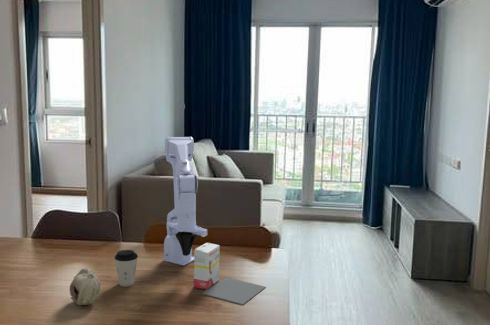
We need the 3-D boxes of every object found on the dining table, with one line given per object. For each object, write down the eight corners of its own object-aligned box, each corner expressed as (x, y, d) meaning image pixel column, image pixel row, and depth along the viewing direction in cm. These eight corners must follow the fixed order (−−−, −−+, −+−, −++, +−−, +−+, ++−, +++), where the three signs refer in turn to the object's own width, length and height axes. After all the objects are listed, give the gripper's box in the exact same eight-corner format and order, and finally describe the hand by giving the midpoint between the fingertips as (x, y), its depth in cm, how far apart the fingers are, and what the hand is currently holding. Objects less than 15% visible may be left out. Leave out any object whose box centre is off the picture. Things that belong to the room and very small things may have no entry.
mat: (201, 293, 135) (201, 292, 135) (226, 278, 147) (226, 277, 147) (242, 305, 128) (243, 304, 128) (265, 287, 140) (265, 286, 140)
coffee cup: (142, 280, 144) (142, 250, 142) (130, 289, 137) (129, 257, 136) (123, 277, 146) (122, 247, 145) (110, 286, 140) (109, 254, 138)
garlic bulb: (78, 295, 133) (77, 262, 132) (107, 296, 132) (106, 263, 131) (62, 310, 124) (61, 274, 122) (93, 312, 123) (92, 276, 121)
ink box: (207, 290, 138) (207, 252, 136) (193, 287, 140) (193, 250, 138) (220, 280, 146) (220, 244, 144) (206, 277, 148) (206, 242, 146)
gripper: (160, 212, 144) (160, 253, 145) (198, 219, 136) (197, 262, 138) (174, 207, 150) (174, 247, 152) (211, 214, 143) (210, 255, 144)
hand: (186, 254), depth 145 cm, fingers closed
